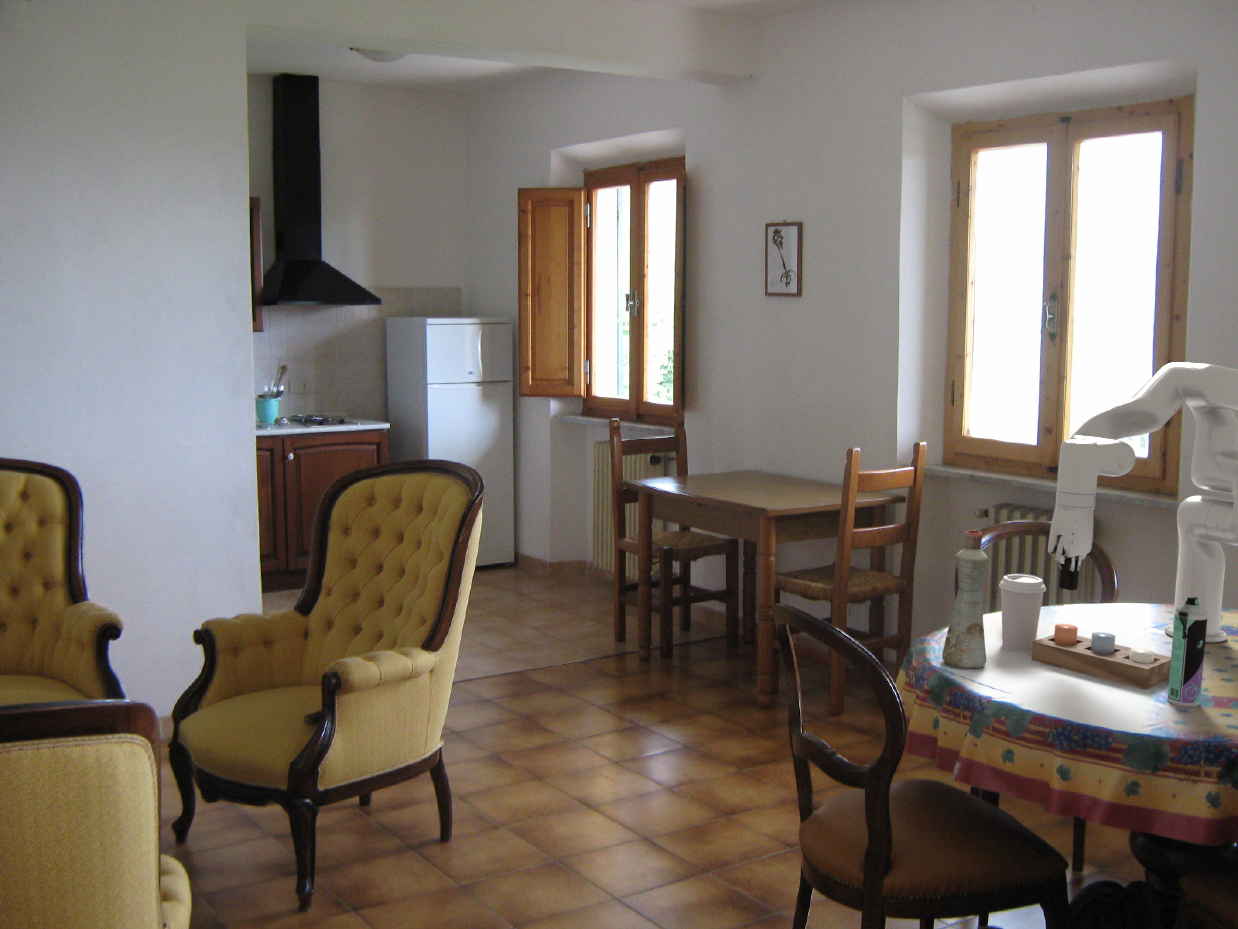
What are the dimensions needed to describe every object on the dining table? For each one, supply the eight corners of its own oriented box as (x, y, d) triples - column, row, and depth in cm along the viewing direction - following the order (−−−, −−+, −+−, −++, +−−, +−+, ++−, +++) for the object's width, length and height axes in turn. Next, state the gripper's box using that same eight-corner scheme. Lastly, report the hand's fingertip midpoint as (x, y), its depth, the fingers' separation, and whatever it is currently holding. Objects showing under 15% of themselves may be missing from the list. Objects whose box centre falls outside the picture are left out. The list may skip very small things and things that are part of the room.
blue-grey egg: (1096, 653, 248) (1098, 631, 248) (1117, 658, 245) (1119, 635, 244) (1086, 657, 245) (1087, 634, 245) (1107, 662, 242) (1108, 639, 242)
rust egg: (1060, 645, 254) (1061, 622, 254) (1080, 649, 251) (1081, 627, 250) (1049, 648, 251) (1051, 626, 251) (1069, 653, 248) (1071, 630, 247)
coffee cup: (1019, 639, 267) (1023, 572, 265) (1051, 650, 258) (1056, 581, 256) (985, 643, 262) (989, 575, 260) (1017, 655, 254) (1022, 585, 252)
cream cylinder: (1134, 670, 243) (1136, 646, 242) (1156, 675, 239) (1158, 651, 239) (1124, 674, 240) (1125, 650, 239) (1146, 679, 236) (1148, 655, 236)
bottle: (949, 671, 242) (957, 532, 238) (936, 657, 251) (944, 524, 247) (992, 671, 242) (1001, 533, 238) (977, 658, 251) (986, 525, 247)
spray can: (1197, 709, 222) (1207, 602, 219) (1165, 703, 225) (1174, 597, 222) (1201, 701, 226) (1210, 596, 224) (1169, 695, 229) (1178, 592, 227)
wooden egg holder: (1060, 650, 258) (1061, 632, 258) (1173, 677, 241) (1175, 658, 240) (1031, 660, 250) (1032, 641, 250) (1145, 689, 233) (1147, 669, 232)
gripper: (1076, 495, 255) (1068, 581, 257) (1039, 501, 245) (1032, 590, 247) (1110, 500, 249) (1103, 587, 251) (1074, 506, 239) (1067, 597, 242)
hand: (1068, 588), depth 249 cm, fingers closed
